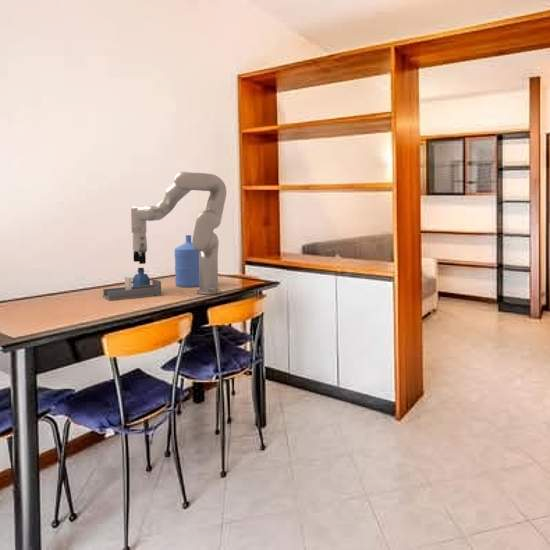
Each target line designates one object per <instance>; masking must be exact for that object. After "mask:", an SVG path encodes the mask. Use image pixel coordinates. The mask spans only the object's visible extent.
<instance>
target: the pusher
mask: <svg viewBox="0 0 550 550" xmlns="http://www.w3.org/2000/svg"><path fill="white" fill-rule="evenodd" d="M133 279H134V276H130V275H125V276H124V287H125V290H132V286H133V284H132V280H133Z"/></svg>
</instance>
